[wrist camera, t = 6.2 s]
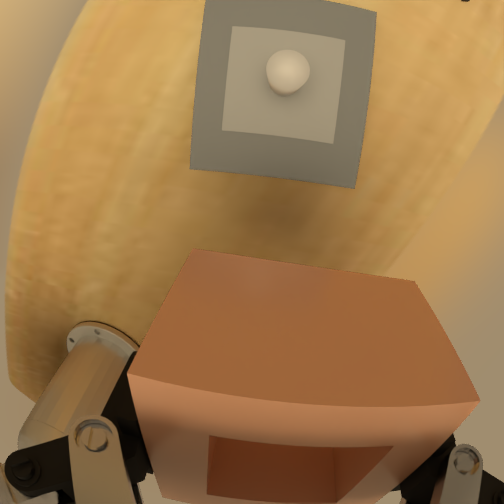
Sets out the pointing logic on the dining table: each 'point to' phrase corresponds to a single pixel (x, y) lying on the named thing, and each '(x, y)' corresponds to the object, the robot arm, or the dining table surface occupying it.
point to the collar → (293, 384)
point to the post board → (272, 147)
